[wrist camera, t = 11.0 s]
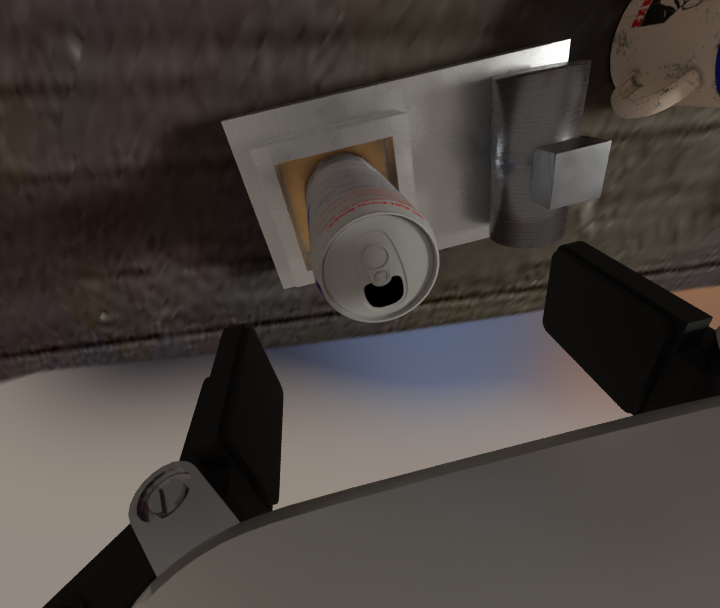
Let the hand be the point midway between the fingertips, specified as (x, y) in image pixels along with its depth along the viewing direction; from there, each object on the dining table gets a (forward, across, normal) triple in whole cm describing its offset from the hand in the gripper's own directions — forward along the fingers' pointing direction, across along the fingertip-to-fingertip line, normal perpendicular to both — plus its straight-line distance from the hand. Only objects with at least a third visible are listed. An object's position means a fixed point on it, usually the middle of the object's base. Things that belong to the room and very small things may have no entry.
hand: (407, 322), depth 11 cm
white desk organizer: (+20, -4, +1) cm, 20 cm away
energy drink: (+16, 0, 0) cm, 16 cm away
